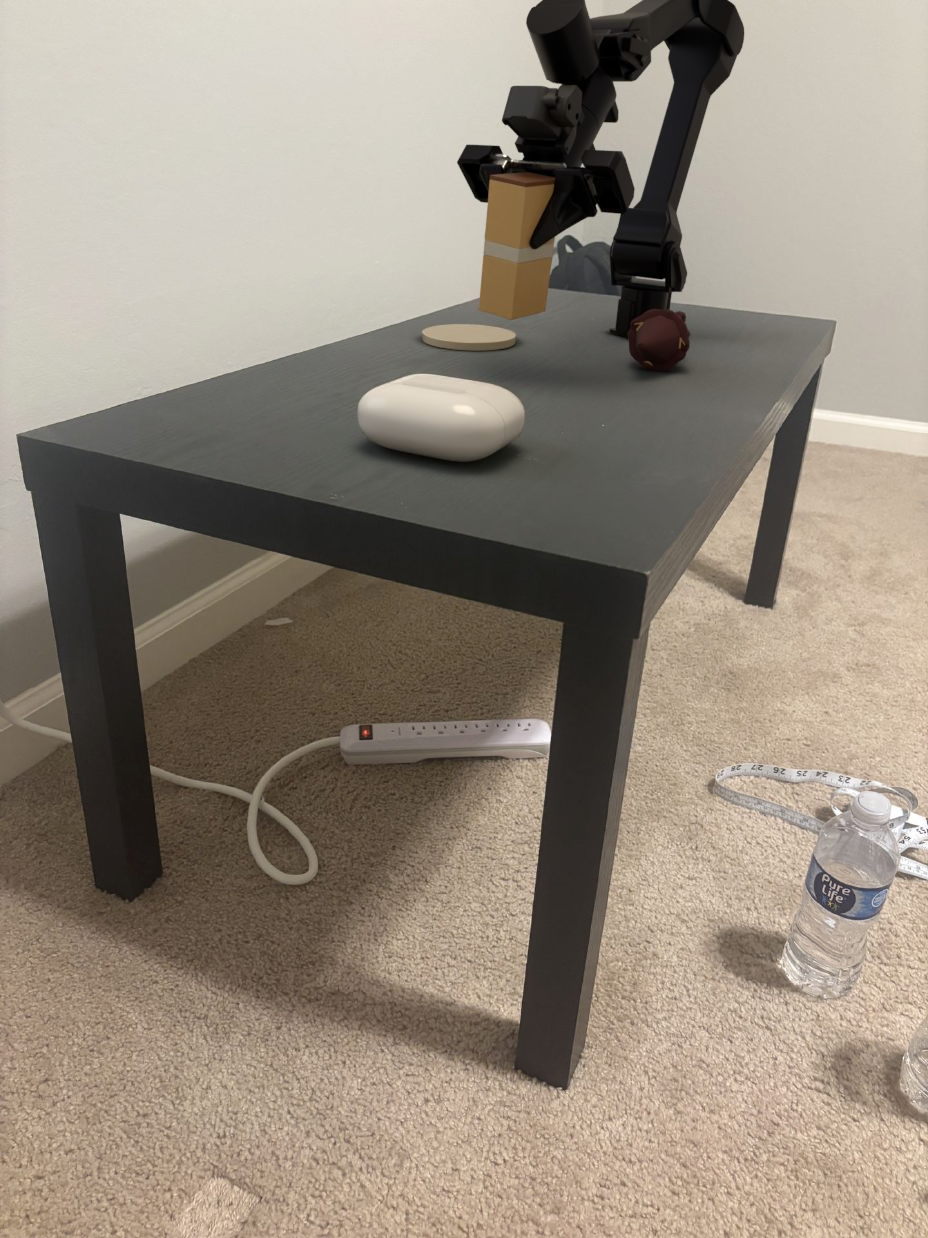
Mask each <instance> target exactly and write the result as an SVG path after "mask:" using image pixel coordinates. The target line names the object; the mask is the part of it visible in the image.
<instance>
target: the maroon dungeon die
mask: <svg viewBox="0 0 928 1238" xmlns="http://www.w3.org/2000/svg"><path fill="white" fill-rule="evenodd" d="M686 320H687V315H686V312H683V311H681V310H679V311H674V310H671V309H670V310H669V309H665V310H662V309H650V310H648V311H646V312H645V313H644V314H642V315H641V316H639V317H637V318H635V319H634V320H633V321H631V323H630V330H629V331H628V334H627V335H628V337H627V340H628V351H629V355H630V357H631V358H632V359H633V360H634V361H636V363H638V364H639V365H640V366H641V367H643V368H644V369H645V370H650V371H659V372H668V371H670V370H671V369H672V368H674V367H675V366H676V365H677V364H678V363H679V362H681V361H682V360H684V359H686V356H687V353H688V351H689V349H690V336H691V333H690V330H689V329H688V327H687V324H686Z"/></svg>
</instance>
